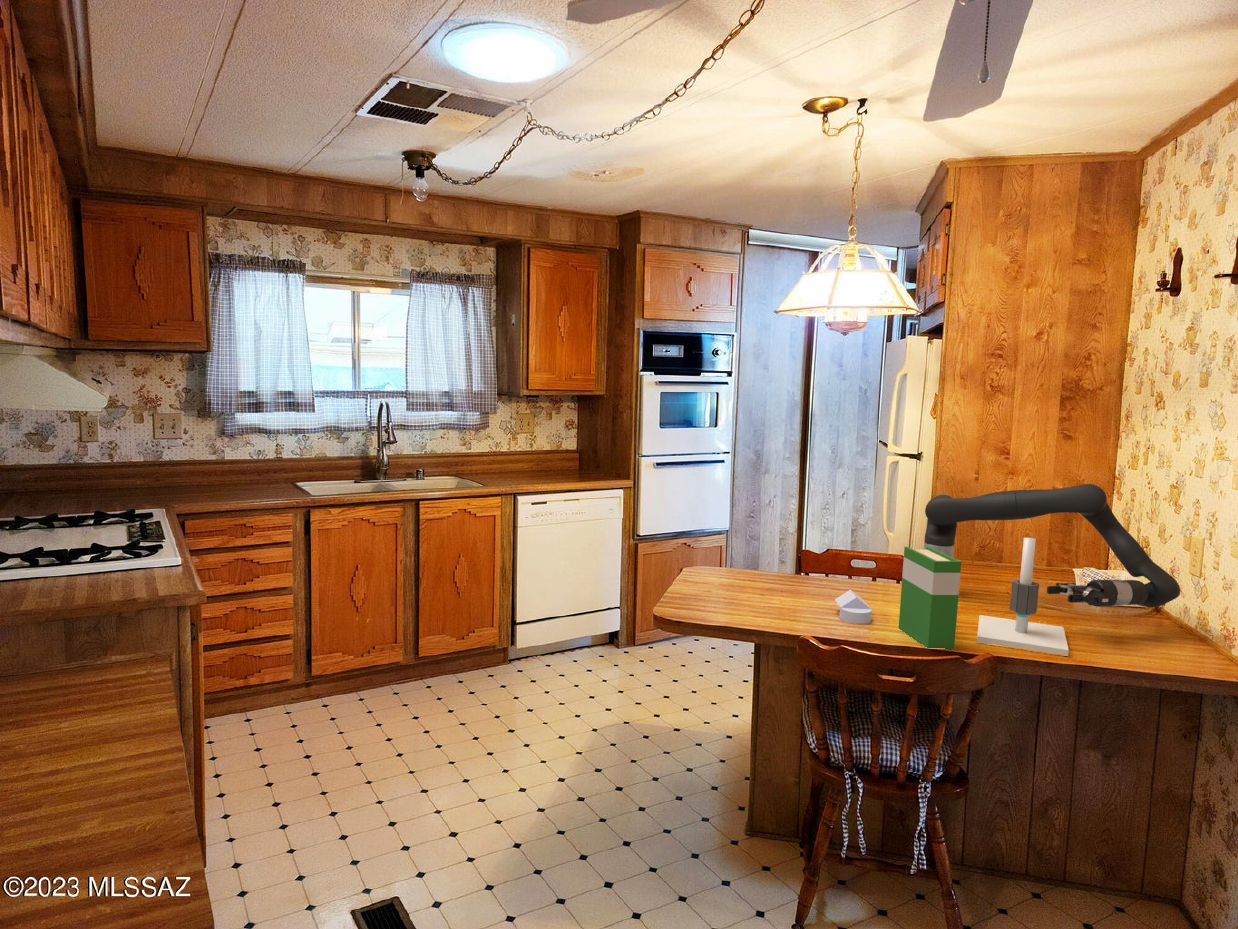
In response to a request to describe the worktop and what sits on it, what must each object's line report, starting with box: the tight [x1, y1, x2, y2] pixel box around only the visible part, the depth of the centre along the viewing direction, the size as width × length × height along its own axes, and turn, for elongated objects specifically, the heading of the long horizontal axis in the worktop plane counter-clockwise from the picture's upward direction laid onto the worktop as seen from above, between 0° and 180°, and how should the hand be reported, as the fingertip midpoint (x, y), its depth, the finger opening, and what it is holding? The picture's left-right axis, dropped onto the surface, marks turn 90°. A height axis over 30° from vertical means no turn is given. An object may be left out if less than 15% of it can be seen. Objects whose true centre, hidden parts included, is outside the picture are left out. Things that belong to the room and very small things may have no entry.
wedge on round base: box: [834, 589, 872, 625], centre depth 243 cm, size 9×7×13 cm
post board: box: [976, 537, 1069, 657], centre depth 227 cm, size 22×22×28 cm
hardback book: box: [898, 546, 962, 650], centre depth 224 cm, size 18×7×24 cm, turn 6°
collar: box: [1009, 579, 1040, 615], centre depth 227 cm, size 7×7×8 cm
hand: (1058, 594), depth 229 cm, fingers open, 8 cm apart
